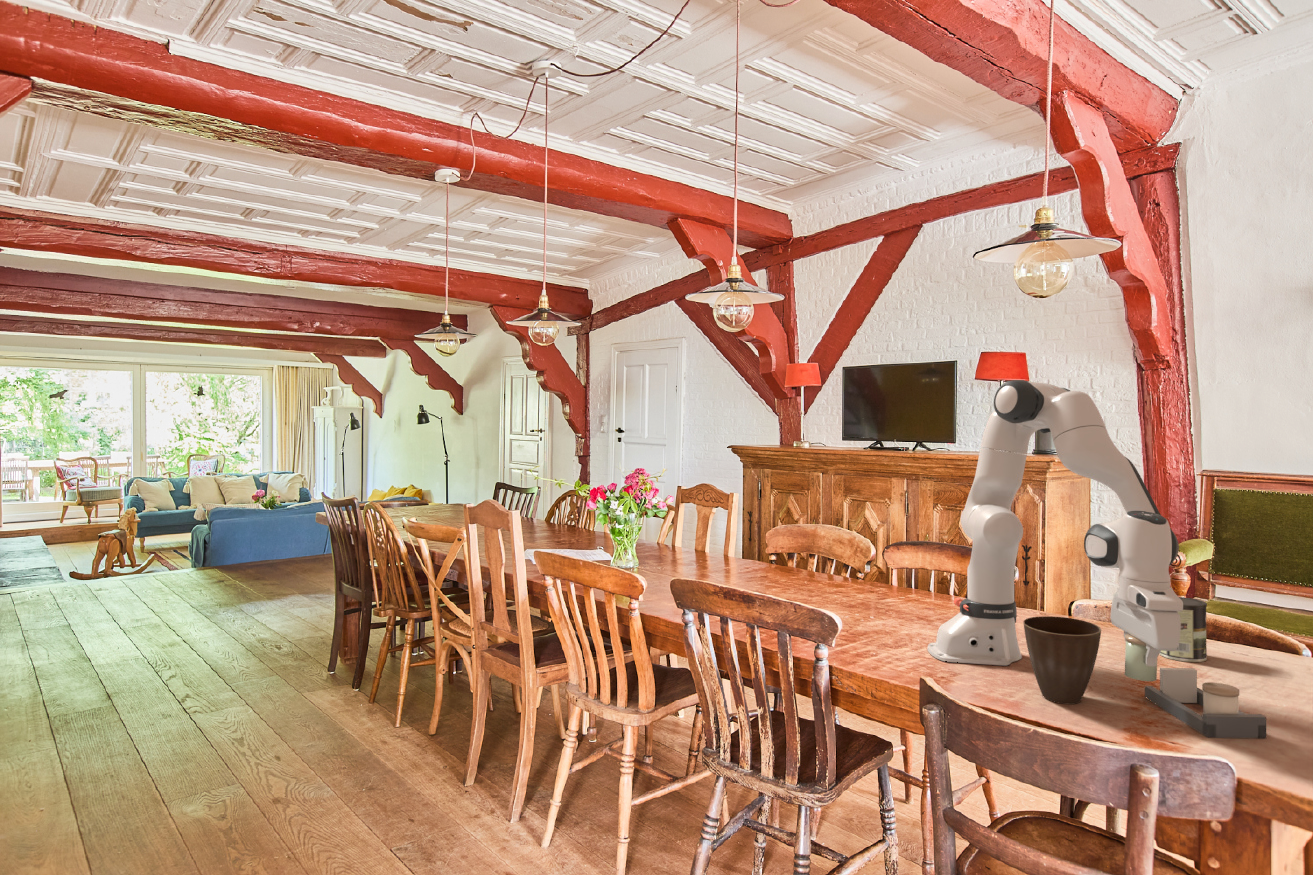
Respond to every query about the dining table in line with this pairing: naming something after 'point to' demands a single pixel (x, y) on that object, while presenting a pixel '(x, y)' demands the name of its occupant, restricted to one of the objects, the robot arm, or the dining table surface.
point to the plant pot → (1062, 655)
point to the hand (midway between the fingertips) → (1140, 659)
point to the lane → (1211, 718)
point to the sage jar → (1137, 660)
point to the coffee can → (1191, 633)
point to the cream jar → (1220, 698)
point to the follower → (1179, 684)
